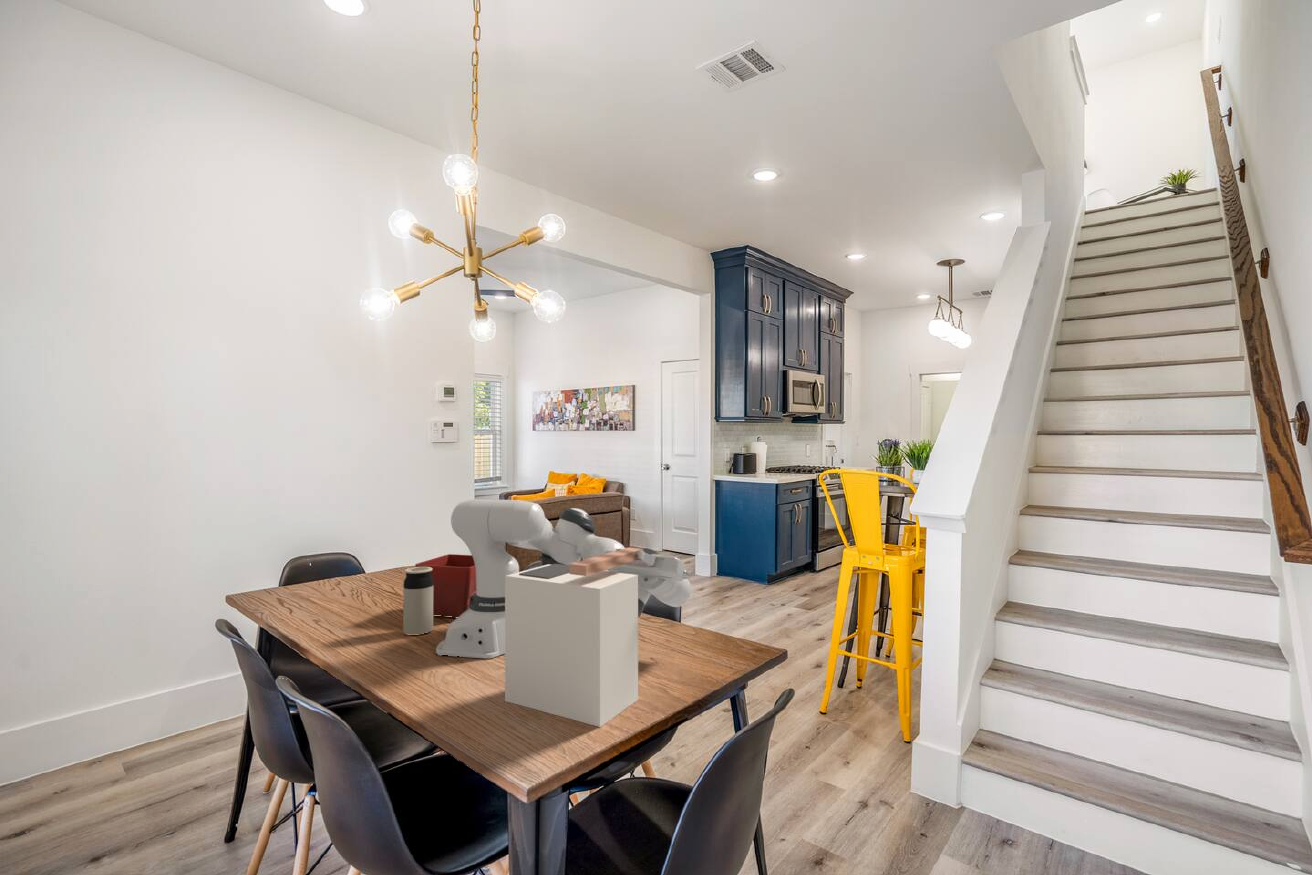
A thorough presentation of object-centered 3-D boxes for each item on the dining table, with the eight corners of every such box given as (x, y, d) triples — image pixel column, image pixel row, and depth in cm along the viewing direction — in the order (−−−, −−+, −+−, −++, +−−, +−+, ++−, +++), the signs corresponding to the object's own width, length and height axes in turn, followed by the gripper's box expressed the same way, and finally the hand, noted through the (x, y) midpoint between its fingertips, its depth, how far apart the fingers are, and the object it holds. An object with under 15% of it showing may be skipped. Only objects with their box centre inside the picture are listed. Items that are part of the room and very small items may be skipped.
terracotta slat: (628, 556, 137) (628, 547, 137) (643, 557, 135) (643, 548, 135) (569, 574, 118) (569, 563, 118) (586, 576, 116) (586, 565, 116)
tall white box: (548, 678, 136) (548, 562, 137) (638, 699, 125) (637, 573, 125) (505, 700, 124) (505, 574, 125) (600, 726, 112) (599, 587, 113)
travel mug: (438, 628, 174) (438, 566, 175) (424, 636, 166) (425, 572, 167) (412, 627, 175) (412, 566, 175) (397, 636, 167) (398, 571, 167)
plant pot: (499, 606, 198) (499, 555, 198) (469, 623, 179) (469, 567, 180) (448, 603, 202) (448, 553, 203) (413, 619, 184) (413, 564, 184)
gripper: (690, 591, 137) (665, 570, 126) (616, 581, 147) (587, 562, 136) (696, 565, 140) (672, 543, 129) (622, 557, 150) (595, 536, 139)
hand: (628, 552), depth 133 cm, fingers closed on terracotta slat, 4 cm apart
